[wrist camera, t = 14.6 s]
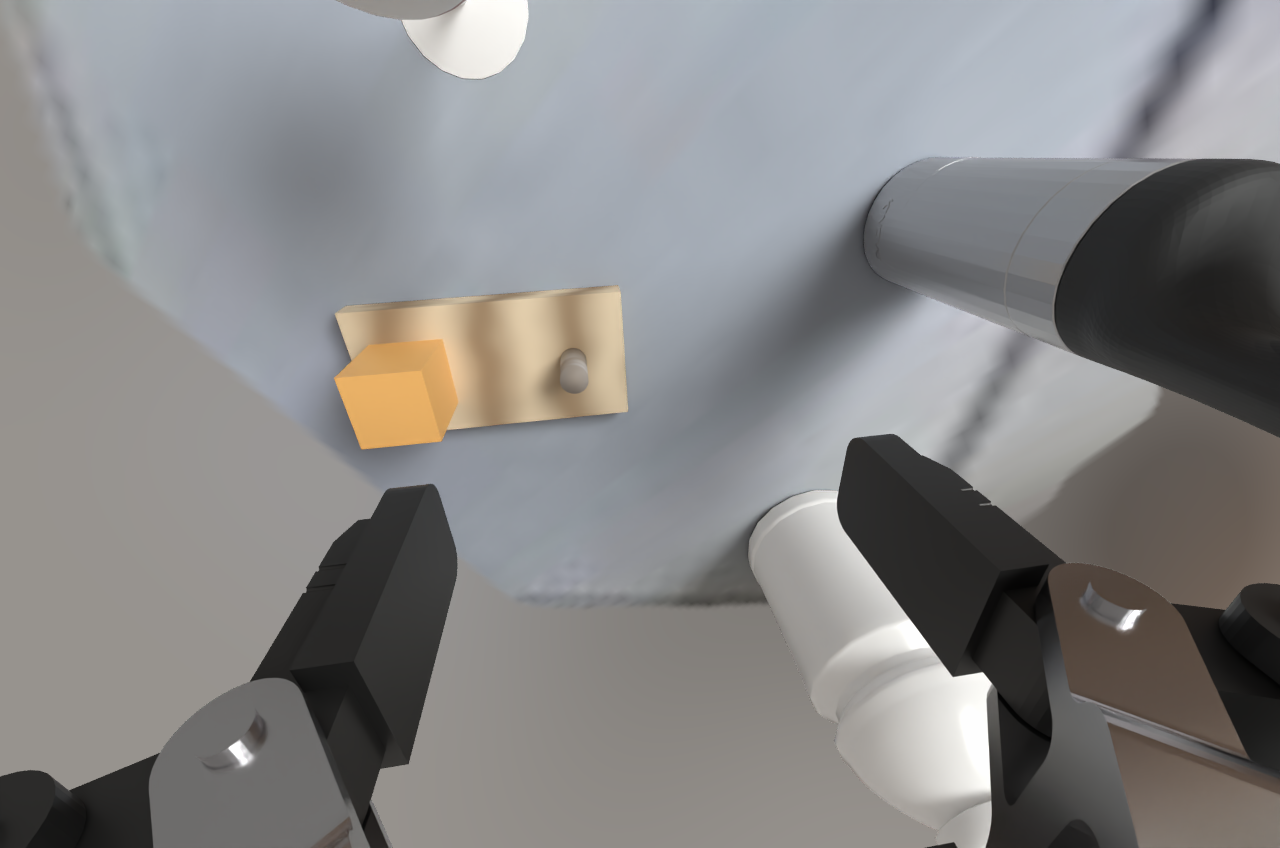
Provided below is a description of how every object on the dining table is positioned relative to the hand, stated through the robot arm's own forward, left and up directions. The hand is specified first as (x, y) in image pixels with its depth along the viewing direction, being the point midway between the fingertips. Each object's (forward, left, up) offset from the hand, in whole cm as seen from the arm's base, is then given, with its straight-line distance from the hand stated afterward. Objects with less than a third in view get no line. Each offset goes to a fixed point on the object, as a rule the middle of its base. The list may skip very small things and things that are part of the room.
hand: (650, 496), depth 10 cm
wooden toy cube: (+14, +8, -28) cm, 32 cm away
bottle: (-21, +32, -30) cm, 49 cm away
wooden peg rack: (+8, +8, -30) cm, 32 cm away
